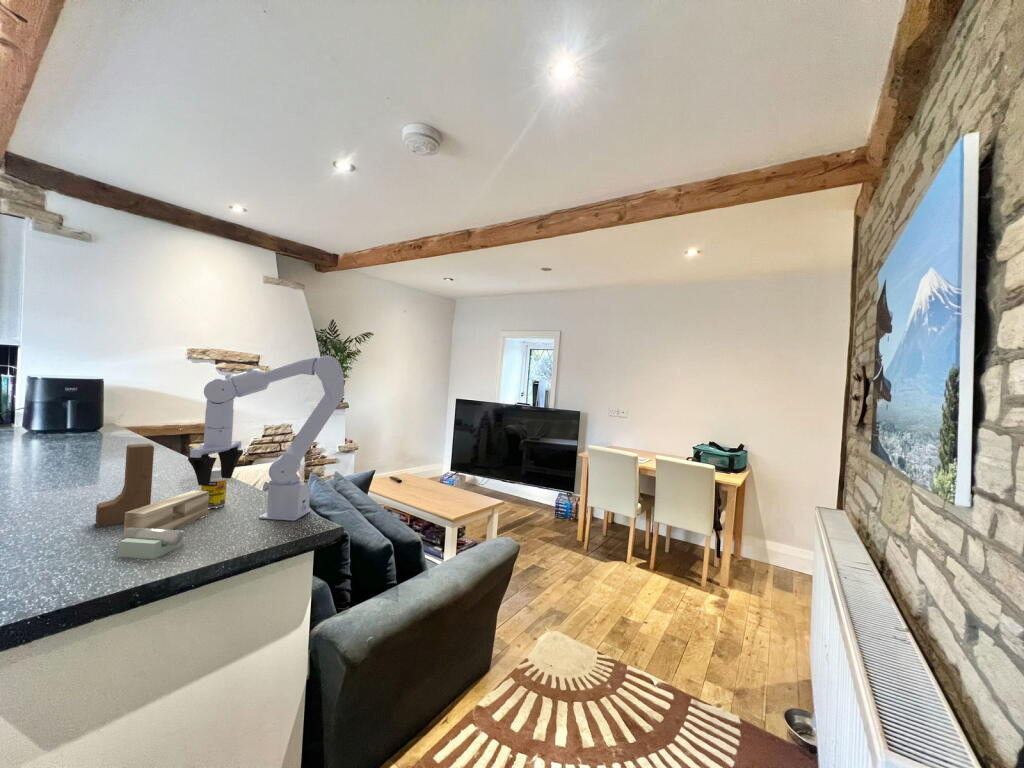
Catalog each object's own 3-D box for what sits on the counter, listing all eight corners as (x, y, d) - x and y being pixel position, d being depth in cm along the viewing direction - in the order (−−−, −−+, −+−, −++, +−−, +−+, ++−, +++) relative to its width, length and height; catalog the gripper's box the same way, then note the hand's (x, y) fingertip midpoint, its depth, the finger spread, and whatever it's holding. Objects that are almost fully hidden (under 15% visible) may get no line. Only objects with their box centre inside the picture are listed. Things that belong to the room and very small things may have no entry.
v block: (183, 544, 86) (184, 530, 86) (153, 559, 79) (154, 543, 79) (150, 542, 86) (151, 528, 86) (118, 556, 79) (119, 541, 79)
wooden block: (96, 528, 92) (102, 448, 92) (95, 522, 95) (100, 445, 95) (149, 519, 99) (154, 445, 99) (146, 514, 102) (151, 443, 102)
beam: (207, 515, 103) (209, 491, 103) (141, 543, 85) (143, 513, 85) (192, 514, 103) (193, 490, 103) (123, 541, 85) (125, 512, 86)
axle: (181, 542, 84) (182, 528, 84) (170, 547, 81) (170, 533, 81) (134, 538, 84) (135, 525, 84) (121, 544, 81) (121, 530, 81)
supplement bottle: (201, 511, 107) (203, 472, 107) (198, 505, 111) (200, 468, 111) (227, 507, 110) (229, 470, 110) (223, 502, 114) (225, 466, 114)
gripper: (224, 423, 109) (221, 474, 109) (178, 429, 94) (175, 487, 94) (250, 425, 109) (247, 475, 109) (208, 431, 94) (205, 489, 94)
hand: (215, 481), depth 101 cm, fingers open, 7 cm apart
